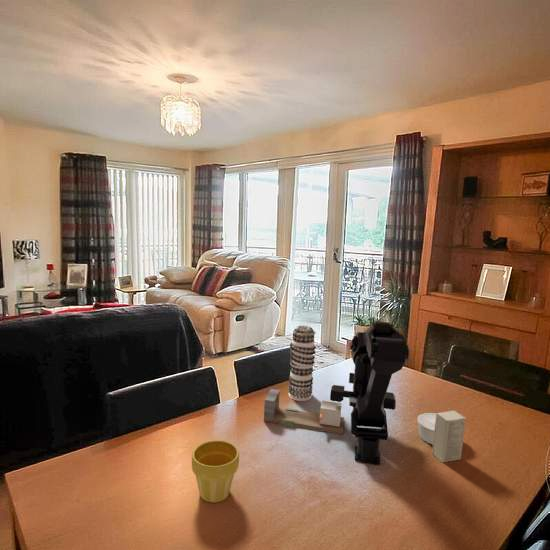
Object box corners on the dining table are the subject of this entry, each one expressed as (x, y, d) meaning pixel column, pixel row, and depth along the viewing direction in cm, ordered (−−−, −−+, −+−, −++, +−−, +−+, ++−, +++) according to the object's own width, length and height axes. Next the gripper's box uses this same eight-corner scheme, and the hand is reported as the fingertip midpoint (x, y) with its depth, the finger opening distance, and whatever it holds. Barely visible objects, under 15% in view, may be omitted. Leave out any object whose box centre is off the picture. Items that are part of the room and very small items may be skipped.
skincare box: (449, 450, 107) (454, 409, 105) (461, 460, 102) (467, 418, 101) (430, 453, 105) (435, 412, 103) (442, 463, 101) (447, 420, 99)
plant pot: (216, 471, 93) (217, 433, 92) (247, 491, 87) (248, 451, 86) (181, 493, 85) (182, 452, 84) (212, 517, 79) (213, 474, 78)
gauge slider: (339, 431, 111) (340, 415, 110) (318, 428, 112) (319, 412, 112) (340, 418, 119) (341, 403, 118) (321, 415, 120) (322, 400, 119)
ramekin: (413, 442, 110) (415, 425, 109) (418, 424, 120) (420, 409, 119) (455, 454, 105) (458, 436, 104) (457, 435, 115) (459, 418, 114)
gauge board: (342, 435, 112) (344, 412, 111) (263, 422, 117) (264, 400, 116) (343, 420, 120) (345, 399, 119) (269, 409, 125) (270, 388, 124)
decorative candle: (284, 398, 133) (287, 329, 129) (290, 388, 142) (294, 322, 138) (309, 403, 130) (314, 332, 127) (315, 392, 139) (319, 325, 136)
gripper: (394, 368, 119) (390, 415, 121) (334, 360, 123) (331, 406, 125) (398, 382, 108) (393, 433, 110) (331, 374, 112) (328, 423, 114)
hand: (360, 423), depth 115 cm, fingers closed
